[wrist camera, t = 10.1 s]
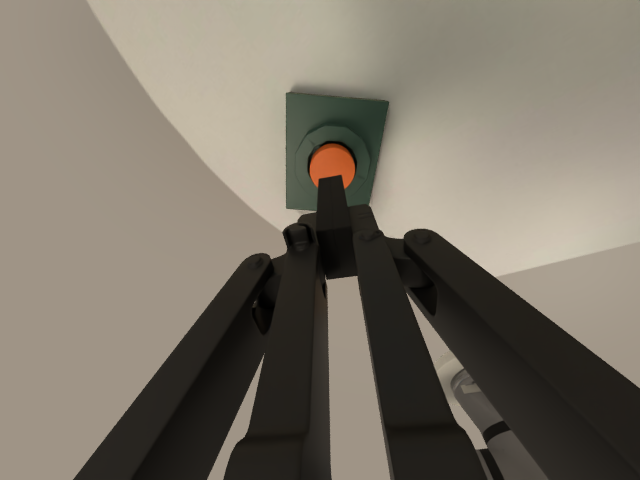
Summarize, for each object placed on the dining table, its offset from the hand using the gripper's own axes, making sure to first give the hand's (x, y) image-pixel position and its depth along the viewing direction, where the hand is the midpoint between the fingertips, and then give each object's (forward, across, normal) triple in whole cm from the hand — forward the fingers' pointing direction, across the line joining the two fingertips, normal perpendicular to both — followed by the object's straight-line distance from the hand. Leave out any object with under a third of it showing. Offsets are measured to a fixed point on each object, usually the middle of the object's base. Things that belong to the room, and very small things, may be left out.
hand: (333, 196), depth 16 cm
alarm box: (+12, 0, 0) cm, 12 cm away
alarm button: (+8, 0, 0) cm, 8 cm away
